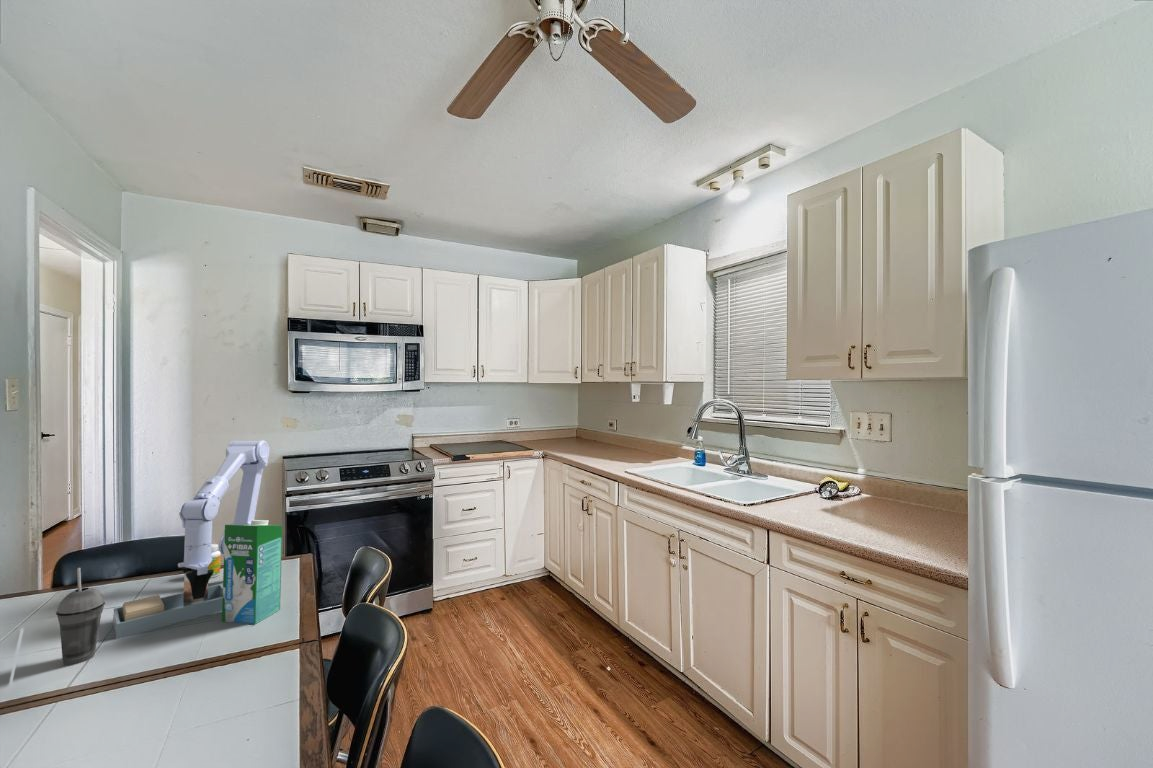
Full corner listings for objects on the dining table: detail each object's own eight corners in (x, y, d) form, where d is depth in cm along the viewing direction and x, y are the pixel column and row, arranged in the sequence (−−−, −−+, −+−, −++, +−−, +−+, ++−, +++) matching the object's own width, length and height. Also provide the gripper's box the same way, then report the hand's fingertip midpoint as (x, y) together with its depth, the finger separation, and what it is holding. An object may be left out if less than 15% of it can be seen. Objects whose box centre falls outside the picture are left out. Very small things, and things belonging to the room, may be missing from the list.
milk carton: (280, 609, 126) (282, 516, 127) (254, 625, 117) (257, 525, 118) (249, 607, 127) (252, 515, 128) (221, 623, 118) (224, 524, 119)
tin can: (206, 599, 128) (207, 566, 128) (209, 605, 124) (210, 571, 125) (181, 605, 124) (183, 571, 125) (184, 611, 121) (185, 576, 121)
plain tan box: (159, 613, 122) (159, 594, 122) (163, 624, 116) (164, 604, 116) (121, 622, 117) (122, 602, 117) (124, 634, 111) (125, 613, 111)
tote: (221, 597, 133) (221, 583, 133) (230, 610, 125) (231, 595, 125) (113, 624, 117) (113, 608, 117) (116, 641, 109) (116, 624, 109)
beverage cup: (70, 673, 96) (74, 575, 97) (44, 669, 98) (48, 573, 98) (111, 654, 103) (115, 563, 104) (86, 651, 105) (90, 561, 105)
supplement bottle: (206, 580, 146) (207, 549, 146) (194, 578, 148) (195, 547, 148) (224, 574, 151) (225, 544, 152) (212, 572, 153) (213, 542, 153)
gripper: (174, 541, 127) (173, 591, 126) (183, 553, 117) (181, 608, 117) (207, 536, 132) (205, 584, 132) (218, 547, 122) (216, 599, 122)
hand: (196, 595), depth 124 cm, fingers closed on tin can, 5 cm apart
